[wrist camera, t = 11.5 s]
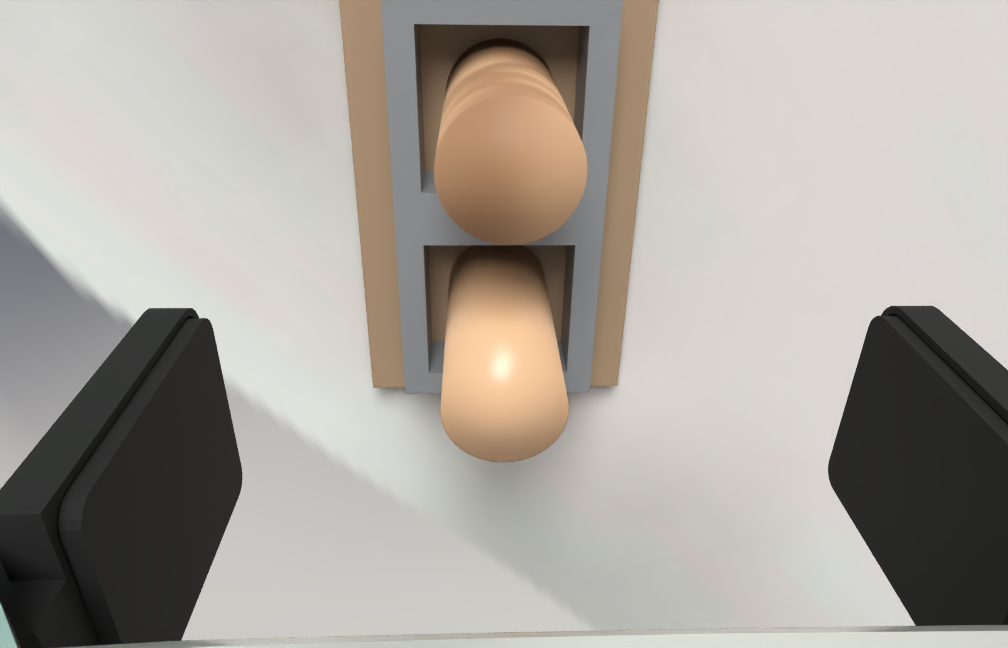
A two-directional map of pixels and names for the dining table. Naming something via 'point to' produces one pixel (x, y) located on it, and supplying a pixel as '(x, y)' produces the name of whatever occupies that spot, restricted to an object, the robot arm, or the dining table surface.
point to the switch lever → (507, 146)
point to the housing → (480, 264)
